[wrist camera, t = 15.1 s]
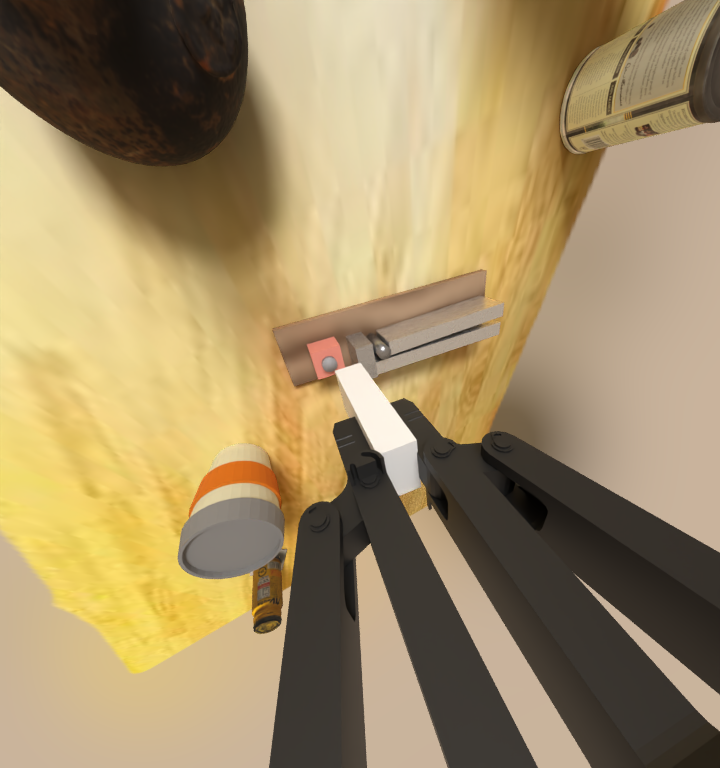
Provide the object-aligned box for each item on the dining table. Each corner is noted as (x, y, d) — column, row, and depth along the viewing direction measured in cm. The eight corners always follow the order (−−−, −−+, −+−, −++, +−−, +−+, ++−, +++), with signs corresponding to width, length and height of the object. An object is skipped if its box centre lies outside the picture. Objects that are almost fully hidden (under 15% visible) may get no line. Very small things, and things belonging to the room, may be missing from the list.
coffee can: (636, 36, 32) (844, -71, 21) (610, 146, 38) (762, 109, 27) (568, 50, 31) (750, -56, 19) (551, 162, 37) (685, 131, 25)
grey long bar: (345, 336, 39) (355, 349, 34) (479, 296, 42) (502, 303, 38) (352, 366, 41) (362, 382, 37) (477, 326, 45) (498, 336, 41)
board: (272, 328, 36) (272, 331, 35) (481, 269, 41) (486, 270, 40) (293, 382, 41) (294, 386, 40) (477, 323, 46) (482, 325, 45)
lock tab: (306, 344, 37) (311, 356, 34) (333, 336, 38) (341, 347, 34) (314, 368, 39) (319, 382, 36) (340, 360, 40) (347, 373, 36)
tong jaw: (363, 334, 39) (377, 348, 34) (480, 295, 42) (507, 303, 37) (366, 346, 40) (380, 361, 35) (479, 307, 43) (506, 317, 38)
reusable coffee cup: (269, 425, 43) (271, 503, 31) (287, 476, 50) (295, 556, 38) (186, 447, 41) (153, 542, 28) (217, 497, 47) (200, 592, 35)
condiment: (249, 574, 62) (247, 640, 52) (253, 552, 58) (251, 619, 48) (282, 569, 64) (285, 630, 55) (287, 547, 61) (291, 609, 51)
